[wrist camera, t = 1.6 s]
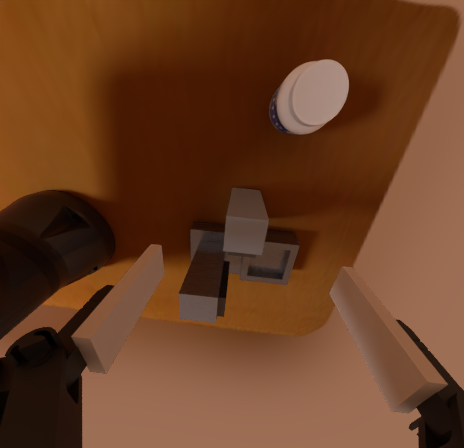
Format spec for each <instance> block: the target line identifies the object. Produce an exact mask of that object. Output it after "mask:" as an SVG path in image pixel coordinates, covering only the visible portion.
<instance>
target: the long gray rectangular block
mask: <svg viewBox="0 0 464 448" xmlns="http://www.w3.org/2000/svg"><path fill="white" fill-rule="evenodd" d="M268 223H269V219H268V215H267V212H266V209H265V205H264V202H263V198H262V195H261V191H260V190H254V189H244V188H235V187H232V191H231V196H230V201H229V205H228V210H227V215H226V224H225V236H224V248H223V251H228V255H234V256H243V257H252V258H256V255H262V252H263V247H264V242H265V237H266V233H267V228H268Z"/></svg>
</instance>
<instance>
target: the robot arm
mask: <svg viewBox="0 0 464 448" xmlns="http://www.w3.org/2000/svg"><path fill="white" fill-rule="evenodd" d="M114 249H115V242H114V237H113V234H112V232H111V229H110V228H109V226H108V224H107V223H106V221H105V220H104V219H103V217H102V216H101V215H100V214H99V213H98V212H97V211H96V210H95V209H93V208H92V207H91V206H90V205H88V204H87V203H85V202H84V201H82V200H80V199H79V198H77V197H74V196H72V195H70V194H67V193H63V192H59V191H41V192H37V193H34V194H30V195H26V196H24V197H21V198H19V199H17V200H16V201H15V202H13V203H12V204H10V205H9V206H7V207H6V208H4V209H3V210H2V211H0V340H1V339H2V338H3V337H4V336H5V335H6V334H8V332H10V331H11V330H12V329H13V328H14V327H16V326H17V325H18V324H19V323H20V322H21V321H23V320H24V319H25V318H26V317H27V316H28V315H29V314H31V313H32V312H33V311H34V310H35V309H37V308H38V307H39V306H40V305H41V304H42V303H44V302H45V301H46V300H47V299H48V298H49V297H51V296H52V295H53V294H54V293H56V292H57V291H58V290H59V289H61V288H63V287H65V286H67V285H69V284H71V283H73V282H75V281H77V280H79V279H81V278H83V277H85V276H87V275H89V274H92V273H94V272H96V271H97V270H99V269H100V268H101V267H103V266H104V265H105V264H106V263H107V262H108V261H109V260H110V259H111V257H112V256H113V253H114ZM164 274H165V273H164V264H163V255H162V245H156V244H151V245H150V246H149V247H148V248H147V249H146V250H145V252H144V253H143V254H142V255H141V256H140V257H139V259H138V260H137V261H136V262H135V263H134V264H133V265H132V267H131V268H130V269H129V270H128V271H127V272H126V274H125V275H124V276H123V277H122V278H121V279H120V281H119V282H118V283H117V284H116V285H115V286H112V285H106V286H105V287H103V288H102V289H100V290H99V291H97V292H96V293H95V294H94V295H93V296H92V297H91V299H90V300H89V302H87V303H86V304H85V305H84V306H83V308H82V309H80V310H79V311H78V312H77V313H76V314H75V315H74V316H73V318H72V319H71V320H70V321H69V322H68V323H67V324H66V325H65V326H64V327H63V328H62V329H61V330H60V331H59V332H58V333H57V332H56V331H55V330H54V329H53V328H51V327H43V328H39V329H35V330H33V331H31V332H29V333H27V334H25V335H24V336H22V337H21V338H19V339H18V340H16V342H14V344H12V345H11V346H10V348H9V349H8V351H7V352H6V354H5V356H6V357H3V358H0V448H82V376H81V373H82V371H83V370H84V369H85V367H86V366H87V367H88V369H89V370H90V372H96V373H103V374H106V373H107V372H108V370H109V368H110V367H111V365H112V363H113V362H114V360H115V358H116V356H117V355H118V353H119V351H120V350H121V348H122V346H123V344H124V343H125V341H126V339H127V337H128V336H129V334H130V332H131V331H132V329H133V327H134V325H135V324H136V322H137V320H138V318H139V317H140V315H141V313H142V312H143V310H144V308H145V307H146V305H147V303H148V301H149V300H150V298H151V296H152V295H153V293H154V291H155V289H156V288H157V286H158V284H159V282H160V281H161V279H162V277H163V276H164ZM329 294H330V296H331V298H332V300H333V302H334V304H335V306H336V307H337V309H338V311H339V313H340V315H341V317H342V319H343V321H344V322H345V324H346V326H347V328H348V330H349V332H350V334H351V336H352V338H353V339H354V341H355V343H356V345H357V347H358V349H359V351H360V353H361V354H362V357H363V359H364V360H365V362H366V364H367V366H368V368H369V370H370V372H371V374H372V375H373V377H374V379H375V381H376V383H377V385H378V387H379V389H380V391H381V392H382V394H383V396H384V398H385V400H386V402H387V404H388V406H389V408H390V410H391V411H394V412H402V413H410V412H411V411H413V410H414V409H415V408H417V409H418V411H419V412H420V414H421V417H420V418H418V419H417V420H415V421H414V422H412V423H411V424H410V426H409V429H410V430H414V429H416V428H417V427H419V428H418V430H419V433H417V435H418V436H419V448H464V390H463V389H462V388H461V387H460V386H459V385H458V384H457V383H456V382H455V380H454V379H453V378H452V377H451V376H450V374H449V373H448V372H447V371H446V370H445V369H444V367H443V366H442V365H441V364H440V363H439V362H438V360H437V359H436V358H435V357H434V356H433V355H432V353H431V352H430V351H428V349H427V347H426V346H425V345H424V344H423V343H422V342H420V339H419V338H418V337H417V336H416V335H415V333H414V332H413V331H412V330H411V329H410V328H409V327H408V326H406V325H405V324H404V323H403V322H402V321H400V320H395V318H394V317H393V316H392V315H391V314H390V312H388V310H387V309H386V307H385V306H384V305H383V304H382V302H381V301H380V300H379V299H378V298H377V296H376V295H375V294H374V293H373V291H372V290H371V289H370V288H369V286H368V285H367V284H366V283H365V282H364V280H363V279H362V278H361V277H360V276H359V274H358V273H357V272H356V270H355V269H354V268H353V267H344V266H342V268H341V270H340V272H339V274H338V276H337V278H336V280H335V282H334V285H333V287H332V289H331V291H330V293H329Z"/></svg>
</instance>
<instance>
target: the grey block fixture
mask: <svg viewBox="0 0 464 448" xmlns="http://www.w3.org/2000/svg"><path fill="white" fill-rule="evenodd" d="M224 236H225V225H221V224H211V223H202V222H194V223H193V225H192V227H191V229H190V240H191V265H190V267H189V269H188V272H187V274H186V277H185V279H184V282H183V284H182V287H181V289H180V292H179V306H180V319H186V320H195V321H203V322H212V323H216V319H217V316H222V317H224V311H225V302H226V293H227V283H228V274H229V273H232V274H240V280H247V281H256V282H265V283H273V284H282V285H287V284H288V281H289V278H290V274H291V271H292V268H293V265H294V262H295V259H296V256H297V253H298V250H299V247H300V245H299V243H298V242H299V240H298V238H297V237H296V235H295V233H293V232H284V231H275V230H267V233H266V237H265V242H264V247H263V252H262V255H256V258H252V257H243V256H234V255H228V251H223V248H224Z"/></svg>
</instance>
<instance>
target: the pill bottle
mask: <svg viewBox="0 0 464 448" xmlns="http://www.w3.org/2000/svg"><path fill="white" fill-rule="evenodd" d="M348 91H349V79H348V75H347V72H346V70H345V69H344V67H343V66H342V65H341V64H339V63H338V62H336V61H334V60H328V59H326V60H320V61H311V62H307V63H304V64H302V65H300V66H298V67H297V68H295V69H294V70H293V71H292V72H291V73H290V74H289V75H288V76H287V77H286V78H285V80H284V81H283V82H282V84H281V85H280V86H279V88H278V89H277V90H276V92H275V93H274V95H273V97H272V99H271V102H270V107H269V115H270V120H271V122H272V124H273V126H274V127H275V128H276V129H277V130H278V131H280V132H282V133H285V134H299V135H302V134H309V133H312V132H314V131H317V130H318V129H320V128H321V127H322V126H324V125H325V124H326V123H327V122H328V121H330V120H331V119H332V118H334V117H335V116H336V115H337V114H338V113H339V111H340V110H341V109H342V107H343V105H344V103H345V101H346V99H347V95H348Z"/></svg>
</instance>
